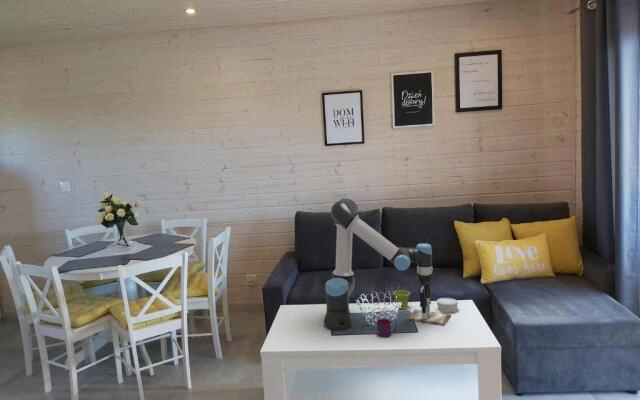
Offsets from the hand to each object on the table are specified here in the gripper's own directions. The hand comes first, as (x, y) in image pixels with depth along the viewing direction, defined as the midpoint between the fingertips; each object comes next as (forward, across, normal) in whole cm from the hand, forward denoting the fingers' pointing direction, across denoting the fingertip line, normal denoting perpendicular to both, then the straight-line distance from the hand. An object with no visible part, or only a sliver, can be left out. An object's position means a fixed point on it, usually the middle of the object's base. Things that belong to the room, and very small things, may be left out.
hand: (425, 317), depth 232 cm
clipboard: (+1, +3, -1) cm, 3 cm away
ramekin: (+2, +18, -7) cm, 19 cm away
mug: (+2, -26, +12) cm, 28 cm away
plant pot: (+2, +12, +17) cm, 21 cm away
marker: (0, 0, 0) cm, 0 cm away
